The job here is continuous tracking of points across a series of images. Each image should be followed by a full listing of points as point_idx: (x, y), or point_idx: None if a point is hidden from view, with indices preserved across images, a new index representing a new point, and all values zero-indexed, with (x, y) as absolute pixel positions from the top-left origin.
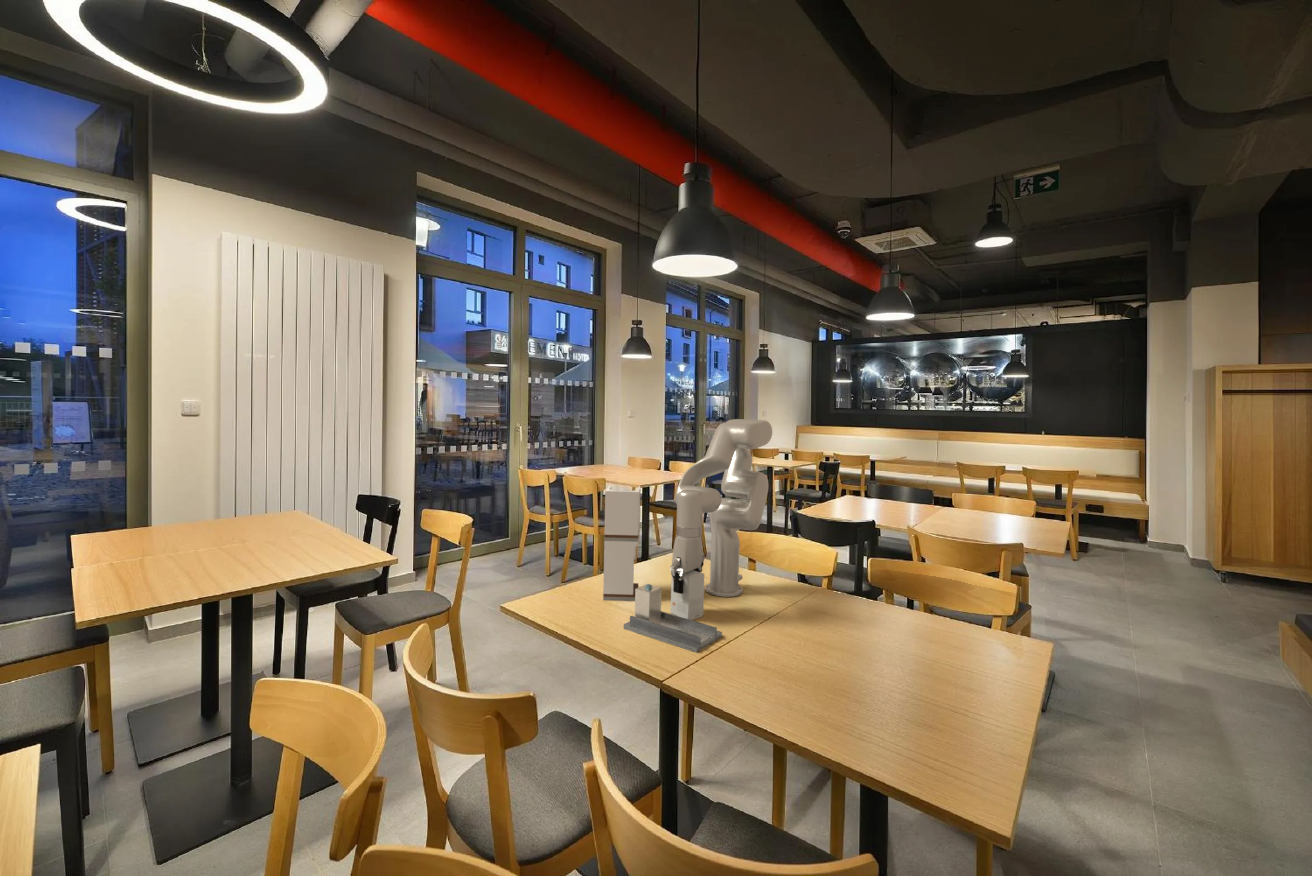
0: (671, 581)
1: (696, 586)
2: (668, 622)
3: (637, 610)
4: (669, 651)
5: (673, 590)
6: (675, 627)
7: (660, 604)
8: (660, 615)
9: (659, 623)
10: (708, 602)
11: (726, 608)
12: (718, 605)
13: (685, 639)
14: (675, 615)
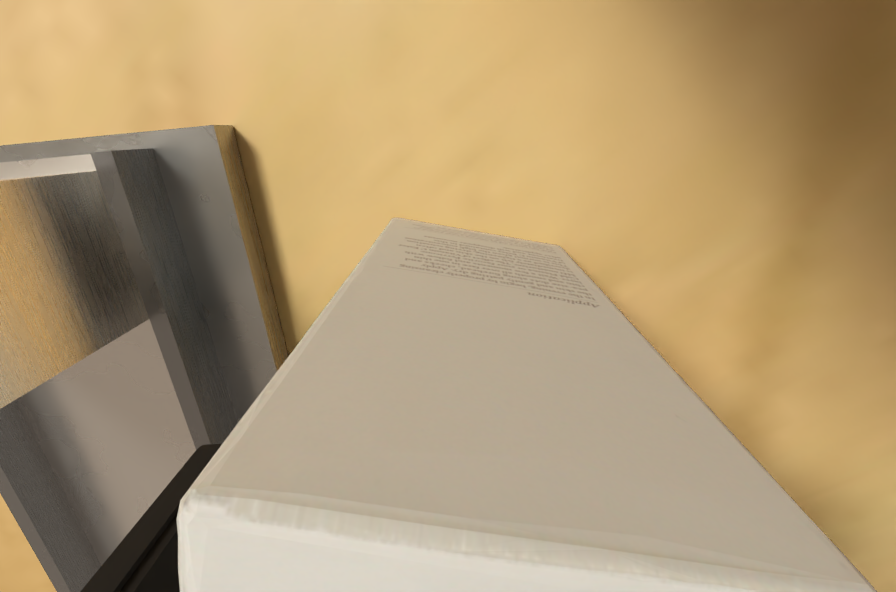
0: (305, 334)
1: None
2: (161, 396)
3: None
4: (5, 544)
5: (196, 454)
6: (150, 471)
7: (42, 378)
8: (132, 327)
9: (91, 366)
10: (817, 292)
11: (760, 448)
12: (790, 382)
13: None
14: (205, 434)
